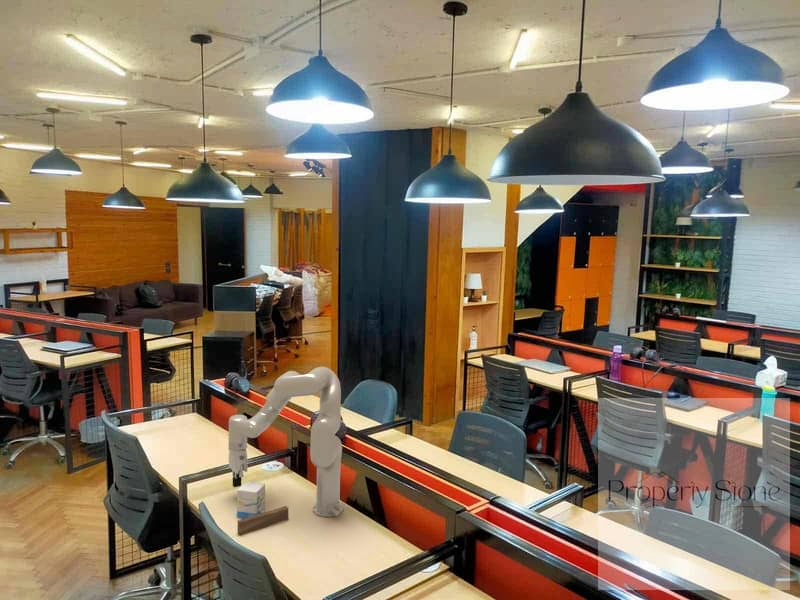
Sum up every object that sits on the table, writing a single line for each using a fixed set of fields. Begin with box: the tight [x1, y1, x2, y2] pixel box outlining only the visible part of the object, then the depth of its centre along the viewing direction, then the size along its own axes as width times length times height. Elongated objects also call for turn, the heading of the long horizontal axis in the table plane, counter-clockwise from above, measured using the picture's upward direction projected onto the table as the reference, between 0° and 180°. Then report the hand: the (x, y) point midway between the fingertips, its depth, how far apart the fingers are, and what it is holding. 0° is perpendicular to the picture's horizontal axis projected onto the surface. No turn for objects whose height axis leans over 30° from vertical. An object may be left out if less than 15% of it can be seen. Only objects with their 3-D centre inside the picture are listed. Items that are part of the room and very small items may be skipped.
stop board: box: [237, 505, 289, 536], centre depth 211 cm, size 2×20×5 cm, turn 128°
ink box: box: [236, 480, 266, 519], centre depth 221 cm, size 8×8×12 cm
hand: (236, 485), depth 232 cm, fingers closed
